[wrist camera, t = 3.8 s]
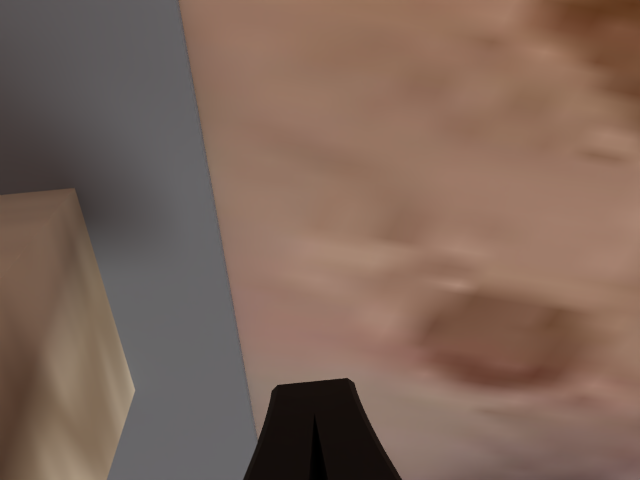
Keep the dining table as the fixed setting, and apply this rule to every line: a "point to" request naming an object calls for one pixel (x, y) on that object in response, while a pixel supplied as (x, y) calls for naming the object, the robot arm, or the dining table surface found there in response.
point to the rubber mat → (135, 215)
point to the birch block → (56, 345)
